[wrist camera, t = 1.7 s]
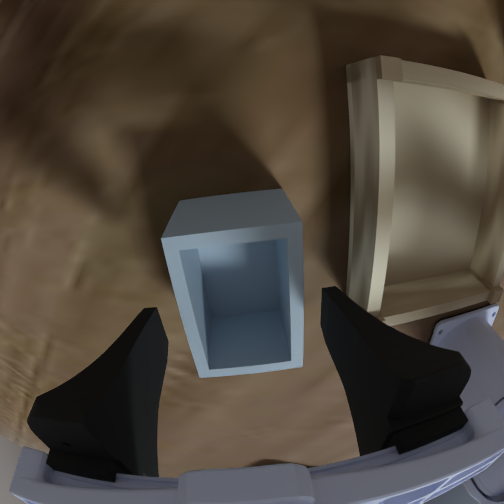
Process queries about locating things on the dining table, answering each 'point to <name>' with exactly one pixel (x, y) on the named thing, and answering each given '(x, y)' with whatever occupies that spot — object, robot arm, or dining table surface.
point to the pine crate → (424, 189)
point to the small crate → (238, 281)
